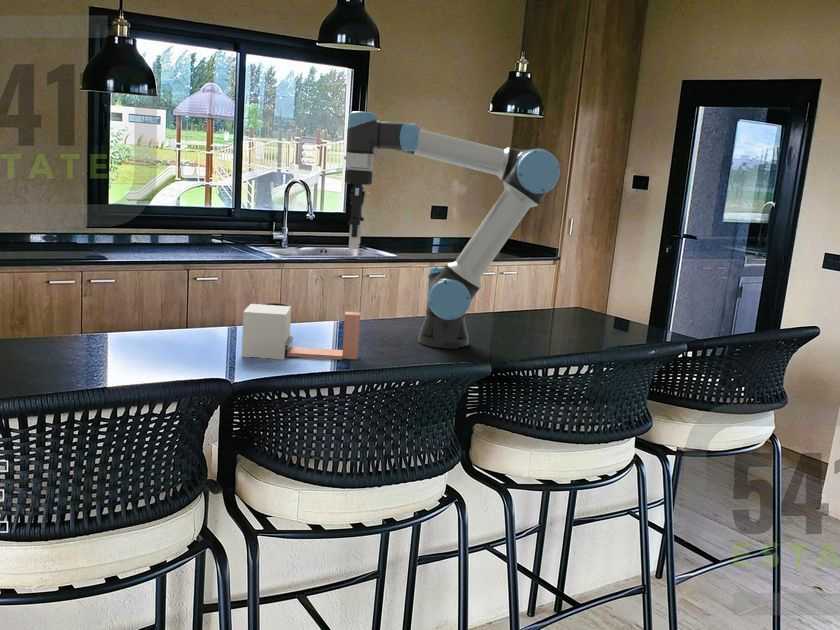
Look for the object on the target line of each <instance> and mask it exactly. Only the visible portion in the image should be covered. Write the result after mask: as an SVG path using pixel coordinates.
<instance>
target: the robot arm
mask: <svg viewBox="0 0 840 630" xmlns="http://www.w3.org/2000/svg"><path fill="white" fill-rule="evenodd" d="M346 131H347V134H346V153H345V155H344V156H343V159H344V160H345V167H346V168H347V169H345V170H344V172H345V173H344V183H346V184H353V187H352V189H351V190H350V191H349V192H350V193H349V196H350V203H349V204H350V205H351V207H350V220H347V225H349V236H348V237H349V238H348V239H349V240H348V249H350V250H359V249H360V248H359V247H360V244H361V237H362V235H361V233H362V222H364V220H365V217H363V215H362V211H363V206H364V200H365V197H366V191H365V190H364V186H363V185H365V186H366V185H367V186H369V185H372V183H373V171H372V170H374V169H373V168H374V157H375V156H374V155H375V154H374V151H375V149H377V150H389V151H396V152H402V153H406V154H410V155H414V156H419V157H421V158H426V159H430V160H435V161H438V162H443V163H446V164H450V165H454V166H457V167H458V166H459V167H463V168H467V169H470V170H474V171H478V172H481V173H487V174H491V175H494V176H497V177H498V178H499V180H500V181H503V182H502V184H503V191H502V193H501V194H500V196H499V197H498V198H497V200H496V201H495V203H494V204H493V206H492V207H491V208H490V210H489V212H488V213H487V215H486V216H485V217H484V218H483V220H482V221H481V223H480V225H479V227H477V229H476V230H475V232H474V233H473V235H472V236H471V238H470V239H469V240H468V242H467V243H466V245H465V246H464V248H463V249H462V251H461V252H460V254H459V255H458V256H457V257H456V258H455V259H456V260H455V261H451V262H447V263H446V264H445V266H444V267H441V266H432V267H430V268H429V271H428V273H429V274H428V276H427V277H428V284H427V298H426V299H427V300H426V309H425V312H426V313H425V317H424V320H423V323H422V326H421V327H420V330H419V332H418V338H417V342H419V344H421V345H424V346H427V347H431V348H439V349H460V348H459V347H463V346H466V345H468V346H469V338H470V337H469V333H468V329H467V325H466V320H465V319H466V317H465V316H466V313H467V311H469V309H470V306H471V302H472V300H474V298H475V297H476V295H477V293H478V292H479V290H480V289H481V288H482V284H481V278H482V276H483V275H484V274H485V272H487V270H488V268H489V266H490V265H491V264H492V262H493V260H494V259H495V258H496V257H497V255H498V253H500V251H501V249H502V248H503V247H504V245H505V244H506V242H507V241H508V239H509V238H510V237H511V236H512V234H513V232H514V231H515V229H516V228H517V227H518V226H519V224H520V222H521V221H522V219H523V218H524V217H525V215H526V214H527V212H528V211H529V210H530V209H531V208H536V207H538V206H539V205H540V204H541V202H542V201H543V199H544V198H545V197H546V195H547V194H548V193H549V191H551V190H553V189H554V187H555V186H557V184H558V182H559V179H560V176H561V167H560V163H559V161H558V159H557V158H556V156H555V155H554V154H552V153H551V152H550V151H548V150H546V149H544V148H532V149H522V148H521V149H519V148H514V147H510V146H508V147H506V148H504V149H503V148H500V147H494V146H491V145H487V144H483V143H479V142H475V141H470V140H466V139H463V138H459V137H455V136H451V135H445V134H442V133H438V132H434V131H430V130H426V129H424V128H420V126H419V125H418V124H417V123H410V122H406V121H405V122H401V121H400V122H398V121H384V120H377V115H376V113H375V112H369V111H357V110H356V111H352V112H350V113H349V115H348V122H347V128H346ZM463 348H464V347H463Z"/></svg>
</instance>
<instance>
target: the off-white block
mask: <svg viewBox="0 0 840 630" xmlns="http://www.w3.org/2000/svg"><path fill="white" fill-rule="evenodd" d="M291 315H292V306H289V305H288V306H277V305H264V304H260V303H259V304H258V303H250V304H249V305H248V306H247V307H246V308H245V309H244V310H243V314H242V337H241V340H242V341H241V345H242V346H241V357H242V358H250V357H261V358H260V359H266V358H270V360H282V361H283V360H285V358H286V351H288V350H289V348H290V347H291V346H290V345H291V344H292V342H293V339H294V336H293V335H291V318H292V316H291Z"/></svg>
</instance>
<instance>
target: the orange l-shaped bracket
mask: <svg viewBox="0 0 840 630" xmlns="http://www.w3.org/2000/svg"><path fill="white" fill-rule="evenodd" d="M360 324H361V312H356V311H344V322H343V337H342V338H343V341H342V349H330V348H318V347H317V348H316V347H315V348H313V347H299V346H289V350H287V352H286V357H292V358H293V357H294V358H307V359H308V358H309V359H321V360H322V359H324V360H326V359H327V360H341V361H342V360H343V359H344V360H345V359H348V360H358V357H359V355H358V354H359V341H360V340H359V339H360Z"/></svg>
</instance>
